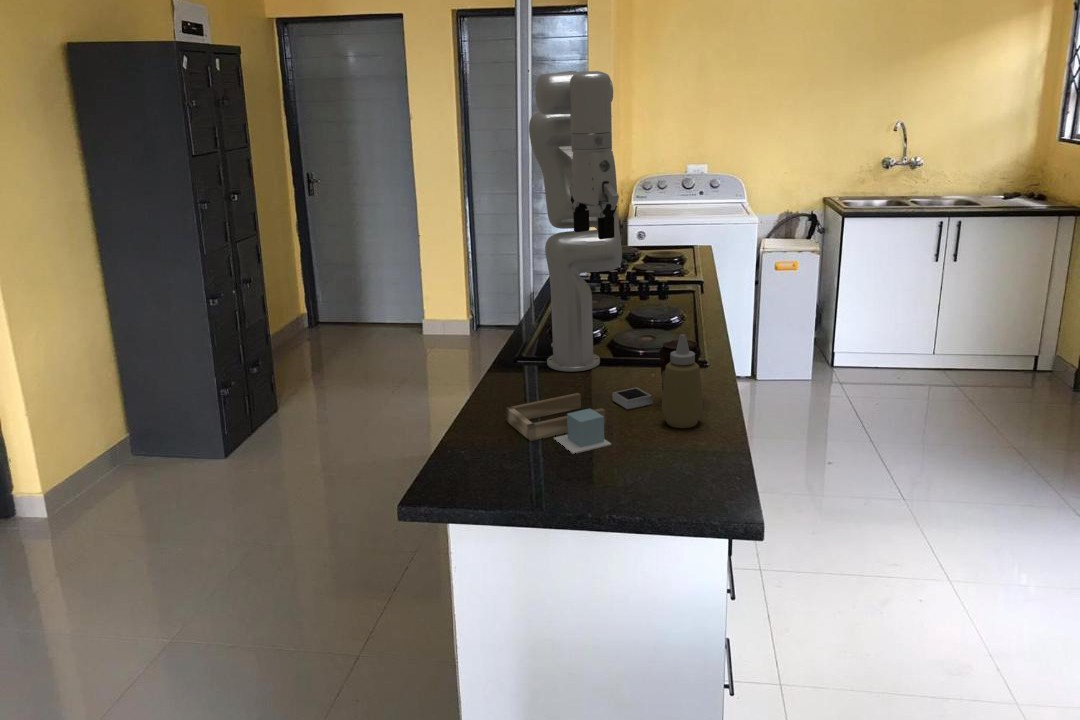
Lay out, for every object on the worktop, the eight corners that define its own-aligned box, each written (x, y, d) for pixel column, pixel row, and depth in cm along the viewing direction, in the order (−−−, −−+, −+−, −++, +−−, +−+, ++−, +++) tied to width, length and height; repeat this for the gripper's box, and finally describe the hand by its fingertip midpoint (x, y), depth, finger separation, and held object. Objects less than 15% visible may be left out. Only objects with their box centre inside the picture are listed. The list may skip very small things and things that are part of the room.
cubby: (506, 421, 174) (506, 407, 173) (578, 406, 180) (577, 392, 179) (530, 441, 164) (529, 426, 163) (605, 424, 170) (605, 410, 169)
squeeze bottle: (653, 420, 171) (653, 333, 165) (688, 413, 174) (689, 326, 168) (675, 434, 164) (675, 343, 158) (711, 426, 167) (713, 337, 161)
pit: (612, 401, 182) (612, 392, 181) (637, 396, 184) (637, 387, 184) (627, 410, 177) (627, 401, 176) (652, 404, 179) (652, 395, 179)
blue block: (567, 438, 164) (567, 413, 162) (590, 432, 166) (590, 408, 164) (581, 447, 159) (580, 422, 158) (604, 441, 161) (603, 416, 160)
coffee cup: (699, 412, 174) (700, 350, 170) (657, 411, 176) (657, 349, 172) (700, 397, 182) (701, 337, 178) (660, 395, 184) (660, 337, 180)
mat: (553, 439, 164) (553, 437, 164) (590, 430, 167) (590, 429, 167) (572, 454, 157) (572, 452, 157) (611, 445, 161) (611, 443, 160)
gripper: (633, 143, 154) (634, 239, 159) (587, 139, 169) (589, 226, 174) (596, 146, 151) (598, 243, 157) (552, 142, 166) (556, 230, 171)
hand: (593, 234), depth 165 cm, fingers open, 9 cm apart
